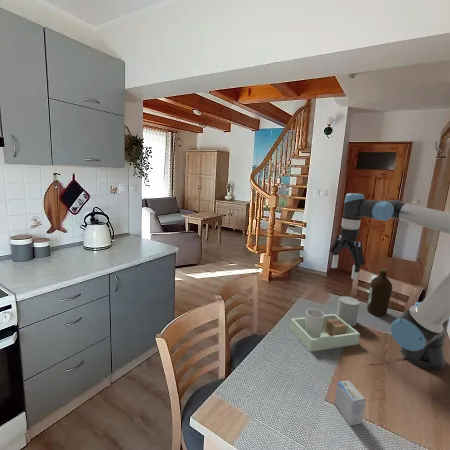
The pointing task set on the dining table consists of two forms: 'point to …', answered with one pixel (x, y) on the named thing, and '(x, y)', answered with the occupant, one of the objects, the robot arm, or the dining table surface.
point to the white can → (348, 309)
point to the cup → (314, 322)
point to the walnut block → (335, 327)
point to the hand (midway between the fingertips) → (343, 272)
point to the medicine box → (349, 402)
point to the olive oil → (379, 294)
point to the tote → (324, 335)
